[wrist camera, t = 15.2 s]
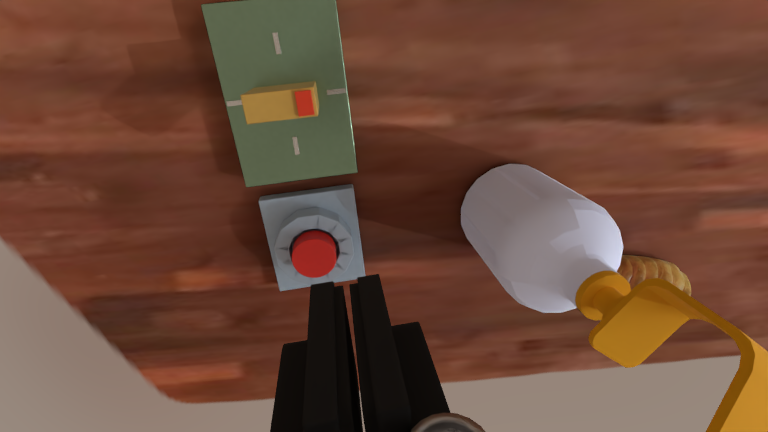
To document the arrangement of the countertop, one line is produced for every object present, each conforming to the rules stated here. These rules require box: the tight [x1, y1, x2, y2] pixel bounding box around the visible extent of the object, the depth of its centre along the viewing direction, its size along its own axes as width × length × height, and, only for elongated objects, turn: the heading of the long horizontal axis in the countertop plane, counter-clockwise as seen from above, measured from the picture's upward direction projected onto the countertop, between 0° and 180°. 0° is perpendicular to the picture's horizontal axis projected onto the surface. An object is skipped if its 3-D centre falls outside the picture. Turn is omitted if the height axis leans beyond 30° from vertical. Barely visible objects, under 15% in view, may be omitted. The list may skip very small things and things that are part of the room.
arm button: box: [292, 230, 337, 278], centre depth 33 cm, size 4×4×2 cm
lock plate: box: [201, 0, 358, 187], centre depth 30 cm, size 13×9×2 cm
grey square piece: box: [258, 184, 365, 291], centre depth 35 cm, size 9×8×3 cm
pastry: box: [617, 255, 691, 296], centre depth 41 cm, size 9×7×4 cm
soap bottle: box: [461, 164, 768, 432], centre depth 27 cm, size 9×9×25 cm
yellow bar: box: [240, 81, 319, 124], centre depth 27 cm, size 4×2×5 cm, turn 95°
